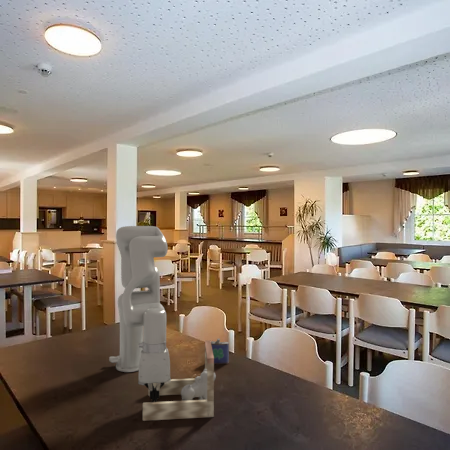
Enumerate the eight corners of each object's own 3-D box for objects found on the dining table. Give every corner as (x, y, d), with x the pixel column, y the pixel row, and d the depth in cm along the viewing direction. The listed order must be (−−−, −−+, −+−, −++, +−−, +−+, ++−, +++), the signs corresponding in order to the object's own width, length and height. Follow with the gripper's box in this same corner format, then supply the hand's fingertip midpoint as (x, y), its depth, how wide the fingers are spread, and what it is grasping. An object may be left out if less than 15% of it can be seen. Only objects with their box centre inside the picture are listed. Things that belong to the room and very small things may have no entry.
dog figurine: (218, 400, 119) (219, 370, 119) (186, 412, 111) (187, 380, 111) (209, 394, 123) (210, 364, 123) (178, 405, 116) (178, 374, 115)
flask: (228, 361, 152) (228, 337, 152) (228, 364, 149) (228, 340, 149) (207, 361, 152) (207, 337, 152) (207, 364, 149) (207, 339, 149)
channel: (142, 420, 107) (142, 360, 107) (148, 394, 123) (148, 342, 123) (213, 416, 109) (213, 358, 109) (210, 391, 125) (210, 340, 125)
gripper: (130, 351, 110) (129, 408, 111) (177, 349, 112) (176, 405, 113) (133, 343, 118) (133, 396, 118) (177, 341, 120) (177, 393, 120)
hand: (154, 400), depth 115 cm, fingers closed
